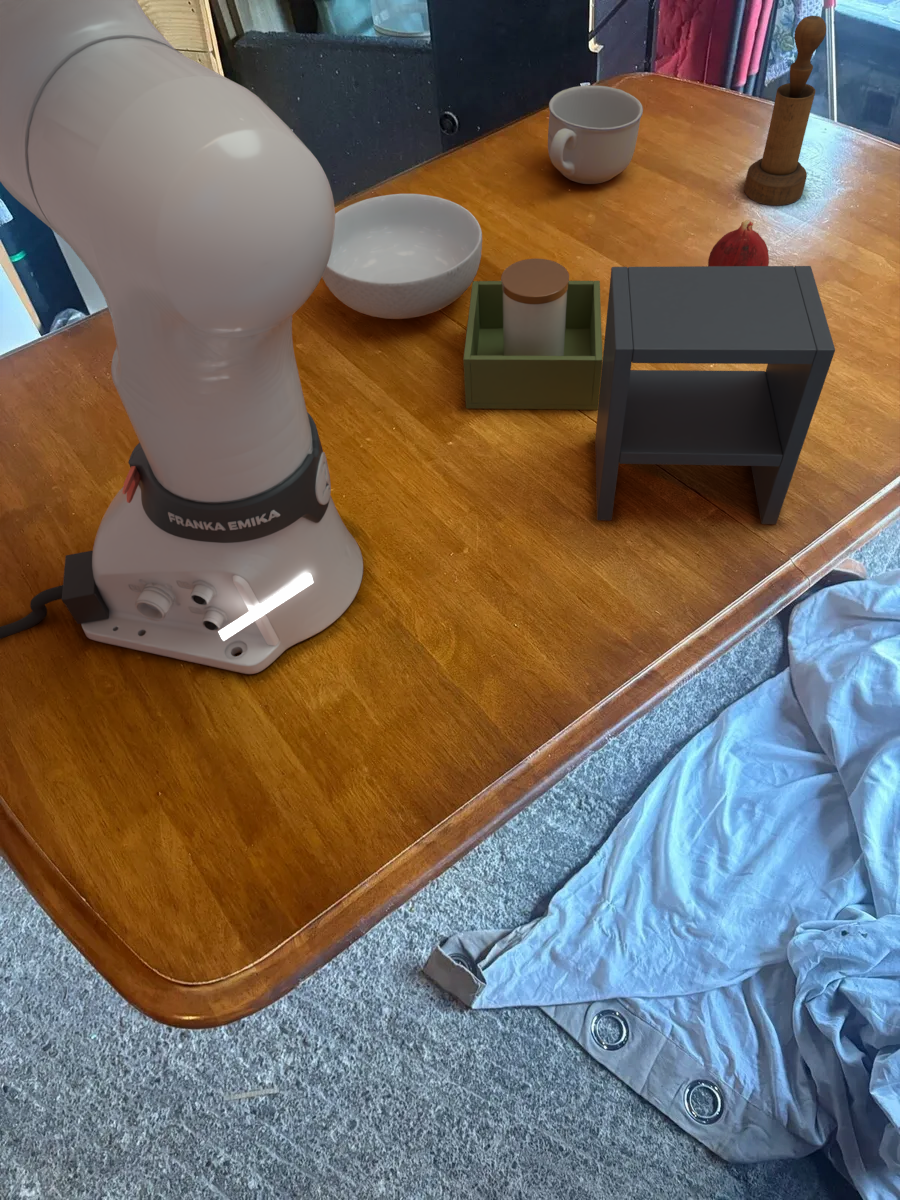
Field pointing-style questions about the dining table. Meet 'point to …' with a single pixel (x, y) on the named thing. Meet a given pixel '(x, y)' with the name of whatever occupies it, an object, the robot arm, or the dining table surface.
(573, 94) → the teacup
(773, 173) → the mortar and pestle
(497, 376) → the bin
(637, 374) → the shelf
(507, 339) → the jar
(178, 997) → the dining table surface
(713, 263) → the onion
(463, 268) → the cereal bowl
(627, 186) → the dining table surface
